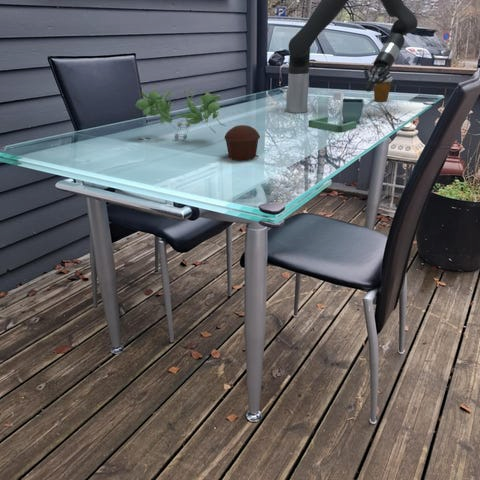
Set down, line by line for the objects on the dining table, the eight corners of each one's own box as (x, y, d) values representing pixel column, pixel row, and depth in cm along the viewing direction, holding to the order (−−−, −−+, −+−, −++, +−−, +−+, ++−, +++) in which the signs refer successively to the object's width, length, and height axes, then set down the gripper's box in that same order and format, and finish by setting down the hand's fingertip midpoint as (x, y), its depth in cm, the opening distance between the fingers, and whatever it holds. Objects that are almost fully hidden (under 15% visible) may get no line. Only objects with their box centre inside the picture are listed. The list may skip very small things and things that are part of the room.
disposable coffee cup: (392, 100, 238) (395, 75, 232) (387, 103, 231) (389, 78, 225) (374, 99, 242) (376, 75, 237) (368, 101, 235) (370, 77, 230)
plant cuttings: (154, 149, 190) (125, 125, 169) (164, 110, 192) (136, 83, 171) (232, 155, 177) (211, 131, 157) (241, 114, 180) (222, 85, 159)
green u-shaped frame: (308, 126, 189) (309, 89, 182) (324, 122, 195) (326, 86, 188) (339, 132, 178) (342, 93, 171) (356, 128, 184) (359, 90, 178)
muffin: (232, 163, 145) (231, 132, 141) (219, 155, 154) (218, 125, 150) (266, 158, 149) (266, 127, 145) (251, 150, 158) (251, 121, 154)
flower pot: (362, 124, 189) (364, 102, 185) (340, 124, 191) (341, 102, 187) (361, 120, 197) (363, 98, 193) (340, 120, 198) (342, 98, 194)
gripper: (370, 50, 198) (351, 83, 196) (398, 51, 189) (378, 85, 187) (376, 62, 203) (357, 94, 201) (403, 63, 194) (384, 97, 192)
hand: (367, 90), depth 194 cm, fingers closed
